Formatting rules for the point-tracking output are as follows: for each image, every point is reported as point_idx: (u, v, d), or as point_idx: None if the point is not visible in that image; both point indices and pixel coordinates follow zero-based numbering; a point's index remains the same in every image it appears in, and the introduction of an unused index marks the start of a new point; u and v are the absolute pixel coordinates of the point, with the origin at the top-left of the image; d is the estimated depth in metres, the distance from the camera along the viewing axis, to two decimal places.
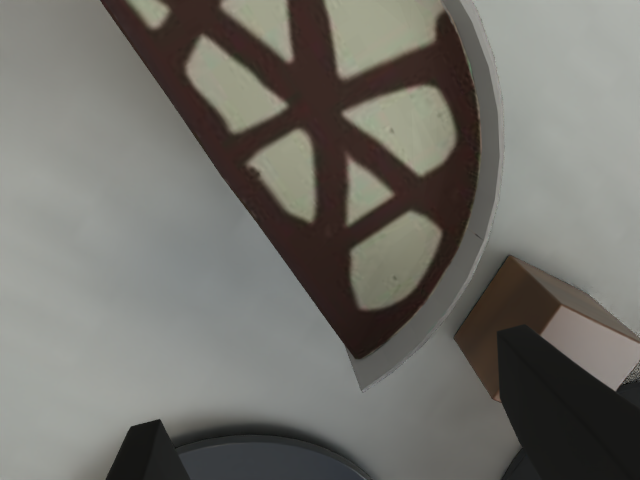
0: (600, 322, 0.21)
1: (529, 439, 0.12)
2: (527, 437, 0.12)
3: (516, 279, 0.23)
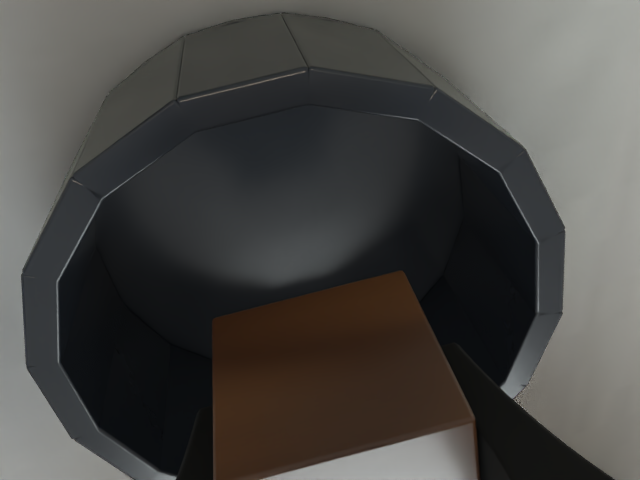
0: None
1: None
2: None
3: (396, 313, 0.12)
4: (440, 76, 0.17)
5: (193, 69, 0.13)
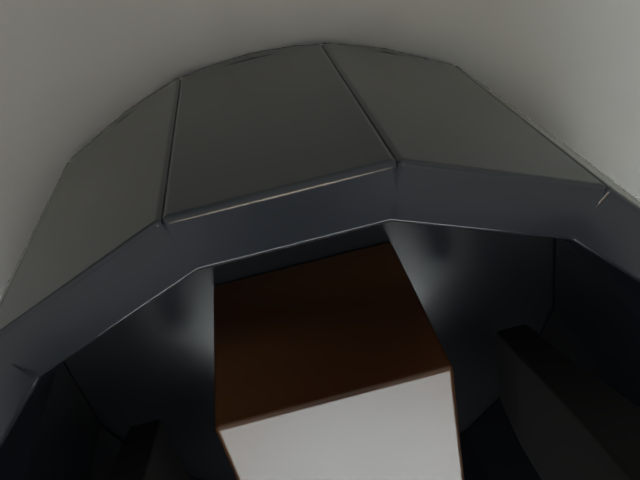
0: (458, 432, 0.11)
1: (529, 439, 0.12)
2: (527, 437, 0.12)
3: (384, 279, 0.13)
4: (547, 132, 0.12)
5: (192, 148, 0.08)
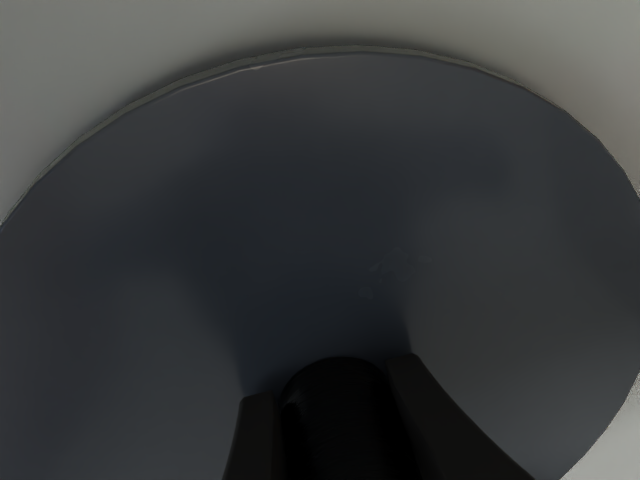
0: None
1: None
2: None
3: None
4: None
5: None
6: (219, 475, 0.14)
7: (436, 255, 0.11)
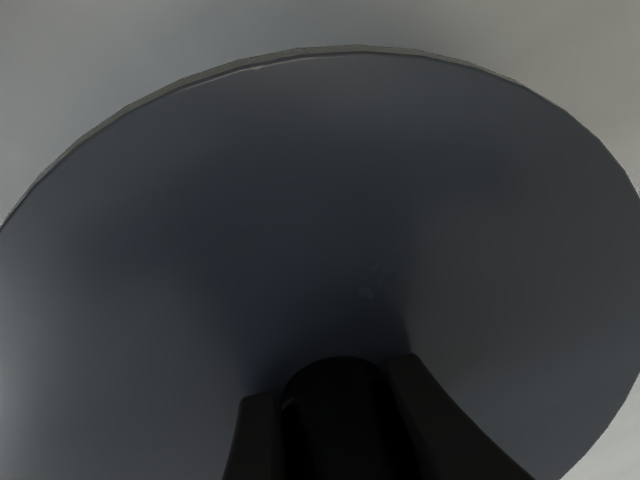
0: None
1: None
2: None
3: None
4: None
5: None
6: (220, 475, 0.14)
7: (436, 255, 0.11)
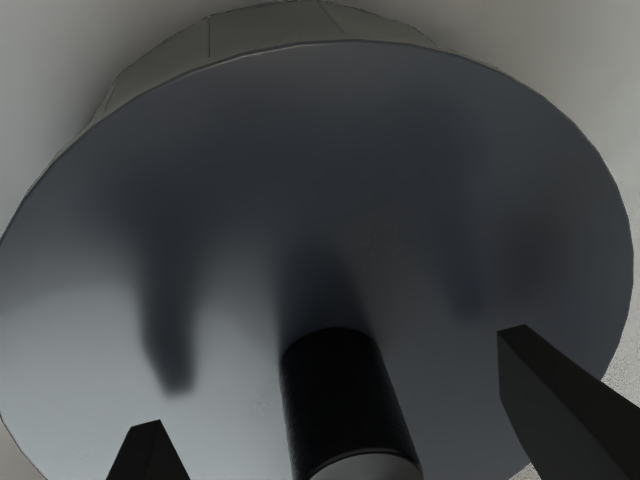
0: None
1: (529, 439, 0.12)
2: (527, 437, 0.12)
3: None
4: None
5: None
6: (222, 441, 0.15)
7: (424, 231, 0.12)
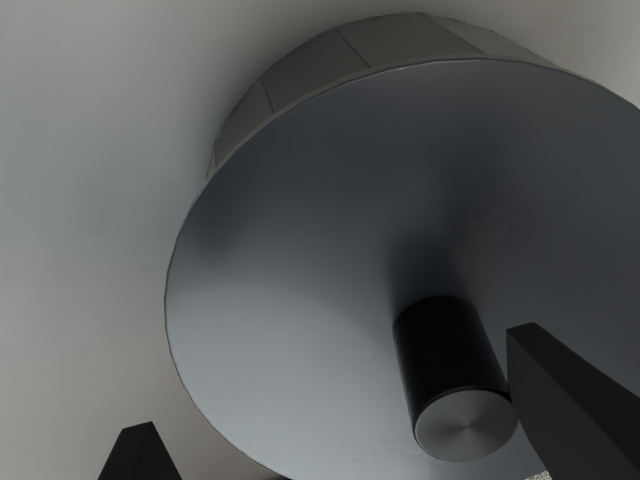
0: None
1: (538, 437, 0.12)
2: (536, 435, 0.12)
3: None
4: None
5: (476, 43, 0.16)
6: (340, 389, 0.17)
7: (525, 216, 0.15)
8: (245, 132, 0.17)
